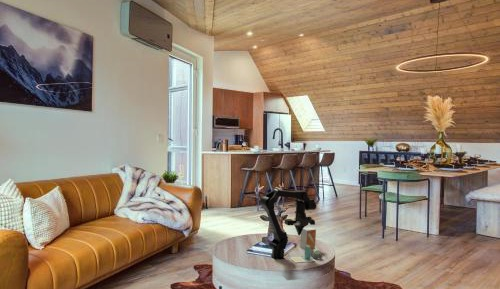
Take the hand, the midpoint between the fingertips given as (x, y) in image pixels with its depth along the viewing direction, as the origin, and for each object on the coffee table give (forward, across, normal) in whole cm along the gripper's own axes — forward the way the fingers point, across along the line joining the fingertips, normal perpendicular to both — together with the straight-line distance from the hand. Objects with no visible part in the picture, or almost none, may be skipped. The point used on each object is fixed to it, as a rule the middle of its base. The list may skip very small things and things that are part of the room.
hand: (299, 235), depth 225 cm
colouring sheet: (+12, -2, -10) cm, 15 cm away
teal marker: (+12, +2, -10) cm, 15 cm away
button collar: (+12, +9, -7) cm, 17 cm away
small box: (+12, +12, +11) cm, 20 cm away
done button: (+12, +9, -7) cm, 16 cm away
